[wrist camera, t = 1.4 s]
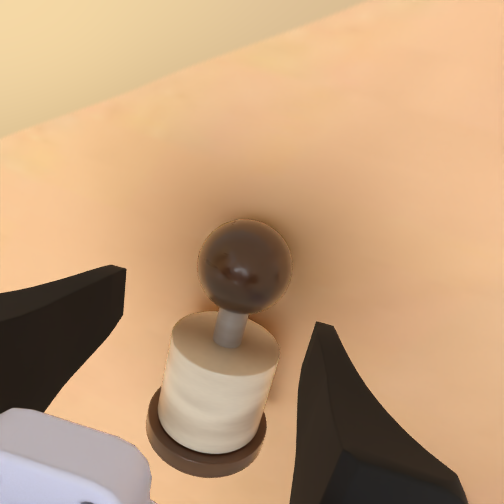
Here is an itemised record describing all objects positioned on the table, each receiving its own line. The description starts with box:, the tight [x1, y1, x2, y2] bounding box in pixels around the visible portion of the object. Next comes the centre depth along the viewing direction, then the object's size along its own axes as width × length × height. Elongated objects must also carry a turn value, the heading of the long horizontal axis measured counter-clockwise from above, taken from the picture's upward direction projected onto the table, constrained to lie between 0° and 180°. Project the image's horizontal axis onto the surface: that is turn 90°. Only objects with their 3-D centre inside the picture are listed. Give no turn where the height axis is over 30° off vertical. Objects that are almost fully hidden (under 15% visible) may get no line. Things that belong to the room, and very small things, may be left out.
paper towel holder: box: [146, 219, 292, 478], centre depth 21 cm, size 7×7×13 cm
